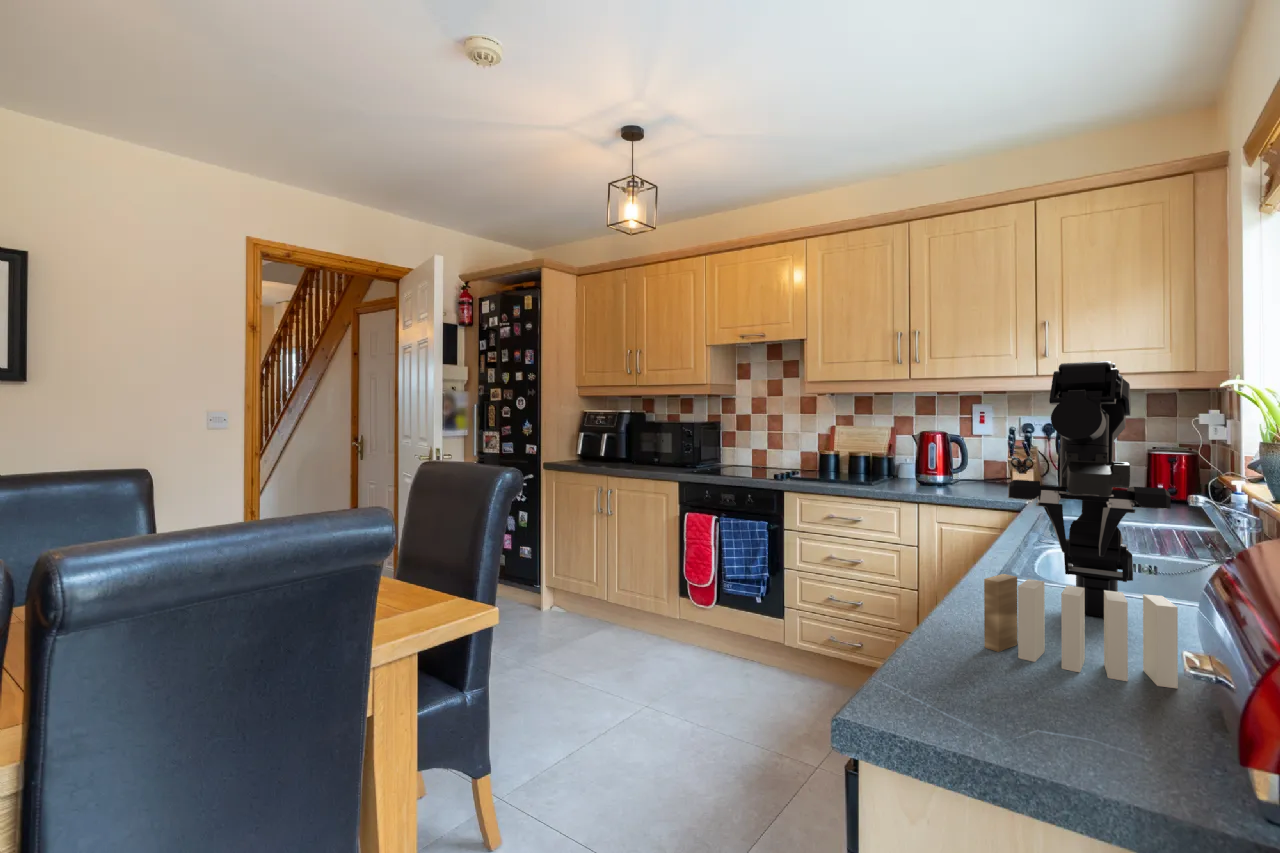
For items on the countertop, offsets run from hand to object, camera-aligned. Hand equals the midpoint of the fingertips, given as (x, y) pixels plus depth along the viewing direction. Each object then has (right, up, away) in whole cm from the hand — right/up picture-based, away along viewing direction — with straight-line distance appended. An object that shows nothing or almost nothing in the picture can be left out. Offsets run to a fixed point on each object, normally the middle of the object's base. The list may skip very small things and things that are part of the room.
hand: (1082, 554), depth 89 cm
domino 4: (-2, -14, -9) cm, 16 cm away
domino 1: (-11, -14, +1) cm, 18 cm away
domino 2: (-9, -14, -3) cm, 16 cm away
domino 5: (+2, -14, -11) cm, 18 cm away
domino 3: (-6, -14, -6) cm, 16 cm away
